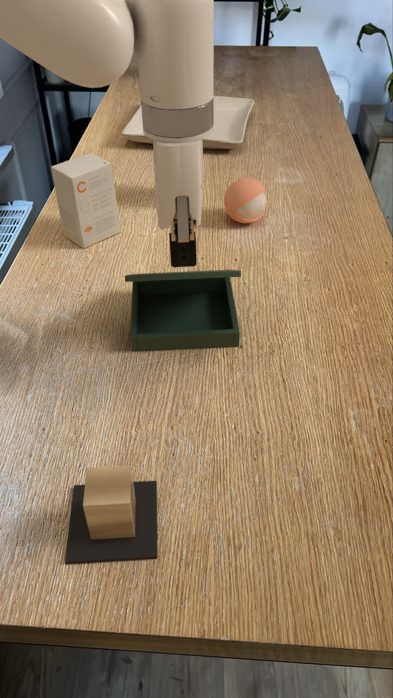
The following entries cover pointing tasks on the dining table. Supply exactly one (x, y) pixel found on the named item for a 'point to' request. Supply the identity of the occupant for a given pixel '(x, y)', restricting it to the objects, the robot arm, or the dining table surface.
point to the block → (110, 502)
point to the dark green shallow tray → (183, 315)
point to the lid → (182, 275)
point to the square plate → (226, 124)
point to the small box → (86, 199)
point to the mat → (114, 548)
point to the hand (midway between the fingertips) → (183, 263)
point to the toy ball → (245, 200)
